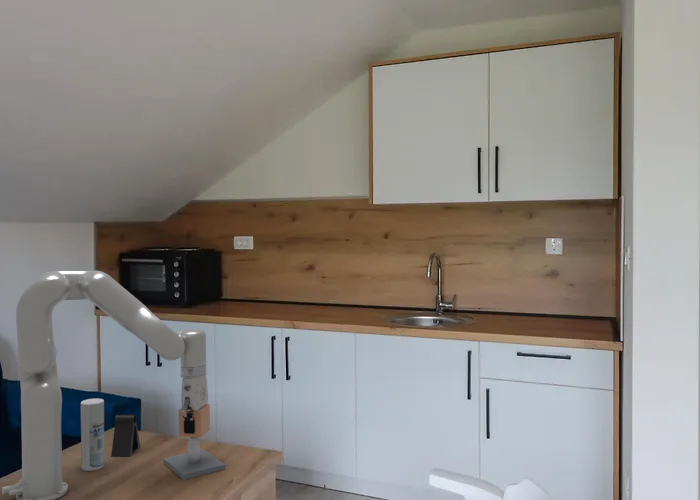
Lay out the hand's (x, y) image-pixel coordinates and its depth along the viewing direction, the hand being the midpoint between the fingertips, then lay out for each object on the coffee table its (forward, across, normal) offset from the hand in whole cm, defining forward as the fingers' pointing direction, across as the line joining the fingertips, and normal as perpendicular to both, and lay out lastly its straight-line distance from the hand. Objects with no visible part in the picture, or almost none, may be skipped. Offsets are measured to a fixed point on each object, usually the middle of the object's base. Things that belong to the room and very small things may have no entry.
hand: (194, 428), depth 182 cm
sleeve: (+1, 0, 0) cm, 1 cm away
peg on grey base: (+11, 0, 0) cm, 11 cm away
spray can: (+11, -5, +30) cm, 33 cm away
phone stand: (+12, +9, +27) cm, 30 cm away
